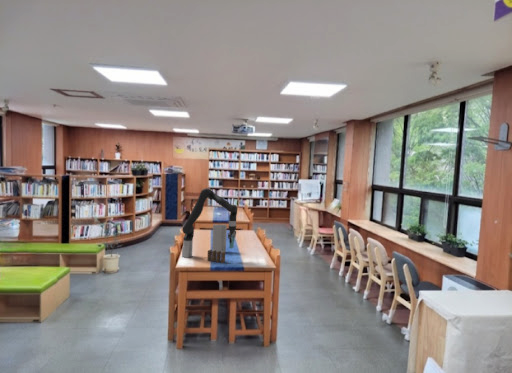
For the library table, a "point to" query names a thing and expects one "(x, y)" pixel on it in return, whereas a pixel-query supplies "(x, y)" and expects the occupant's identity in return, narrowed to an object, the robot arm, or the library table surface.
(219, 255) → the domino
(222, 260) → the domino
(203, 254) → the library table surface
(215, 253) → the domino
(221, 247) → the tall gray block
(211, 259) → the domino
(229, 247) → the domino
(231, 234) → the robot arm
